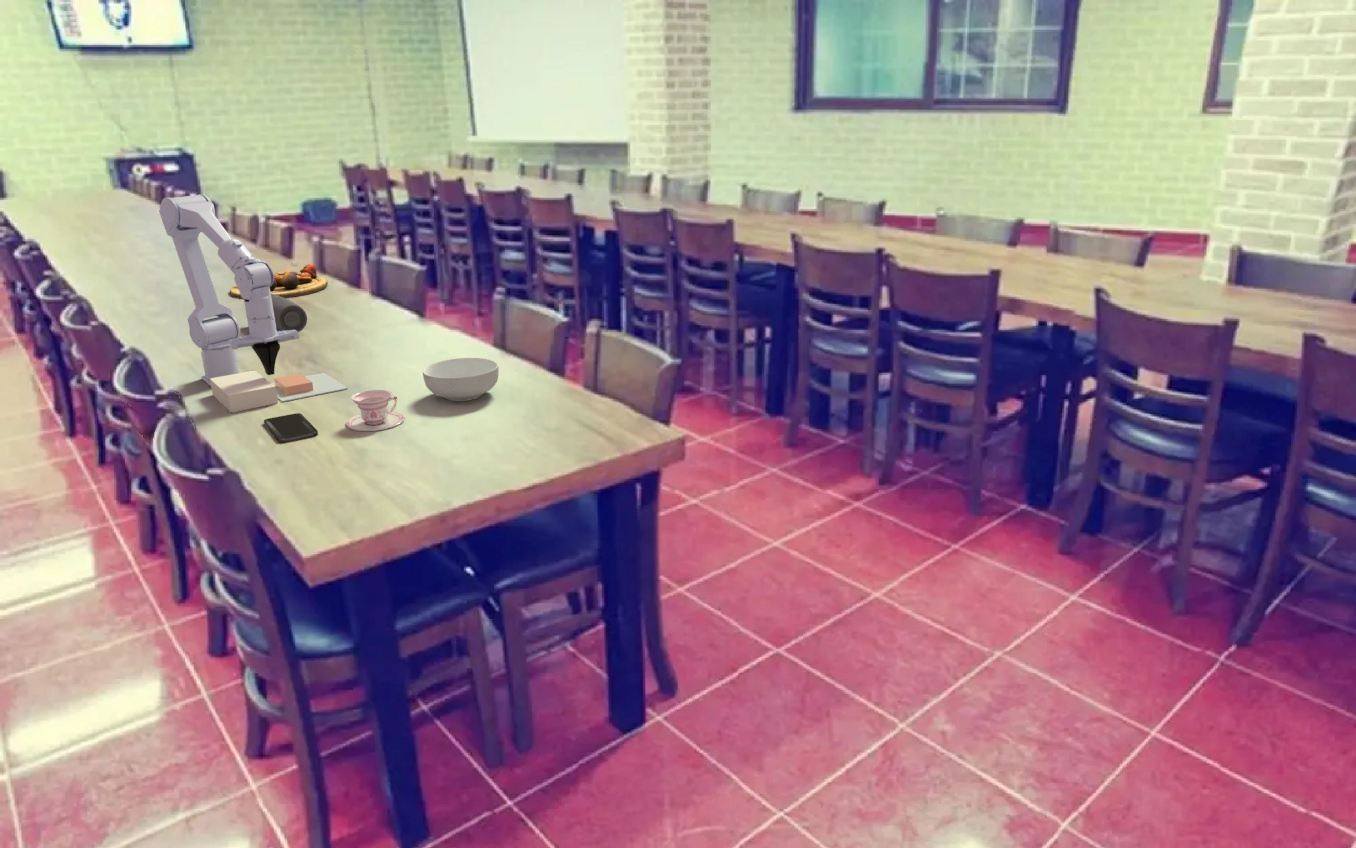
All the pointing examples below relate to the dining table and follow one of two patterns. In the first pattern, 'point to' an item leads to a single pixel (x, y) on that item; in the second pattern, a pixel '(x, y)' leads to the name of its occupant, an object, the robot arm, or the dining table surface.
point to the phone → (290, 428)
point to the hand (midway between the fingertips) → (270, 373)
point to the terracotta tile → (293, 384)
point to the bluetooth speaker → (288, 314)
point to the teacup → (374, 411)
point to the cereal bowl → (461, 378)
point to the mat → (320, 386)
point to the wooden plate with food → (293, 283)
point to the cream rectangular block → (243, 391)
